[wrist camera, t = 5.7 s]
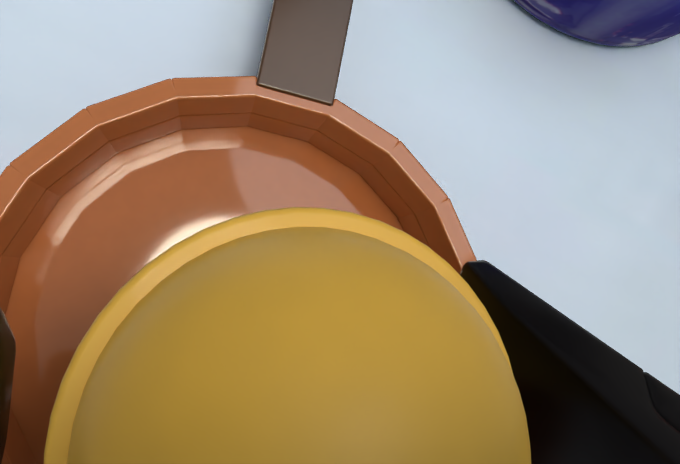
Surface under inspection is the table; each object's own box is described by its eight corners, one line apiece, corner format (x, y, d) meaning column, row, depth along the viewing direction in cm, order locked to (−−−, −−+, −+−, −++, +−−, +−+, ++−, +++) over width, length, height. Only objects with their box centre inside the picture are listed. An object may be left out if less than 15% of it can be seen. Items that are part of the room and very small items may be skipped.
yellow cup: (303, 426, 17) (662, 969, 4) (128, 405, 15) (-270, 1120, 2) (333, 262, 17) (728, 229, 4) (168, 229, 16) (28, 42, 3)
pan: (401, 570, 18) (447, 639, 14) (-75, 544, 14) (-158, 626, 11) (464, 169, 19) (518, 148, 16) (54, 61, 16) (16, 6, 13)
